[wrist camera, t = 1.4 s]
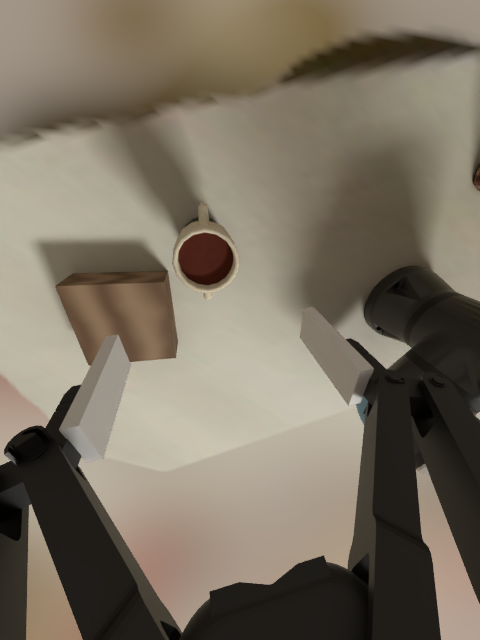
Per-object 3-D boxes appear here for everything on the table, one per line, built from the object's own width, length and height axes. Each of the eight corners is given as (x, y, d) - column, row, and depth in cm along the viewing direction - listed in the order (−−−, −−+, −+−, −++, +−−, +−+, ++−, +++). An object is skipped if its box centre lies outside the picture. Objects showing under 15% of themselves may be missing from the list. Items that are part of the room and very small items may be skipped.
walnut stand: (167, 270, 36) (164, 282, 32) (177, 341, 44) (175, 357, 39) (72, 273, 34) (55, 286, 30) (99, 347, 41) (88, 365, 37)
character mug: (226, 271, 38) (238, 306, 27) (183, 273, 37) (178, 310, 26) (225, 198, 33) (241, 205, 22) (175, 197, 32) (164, 205, 21)
